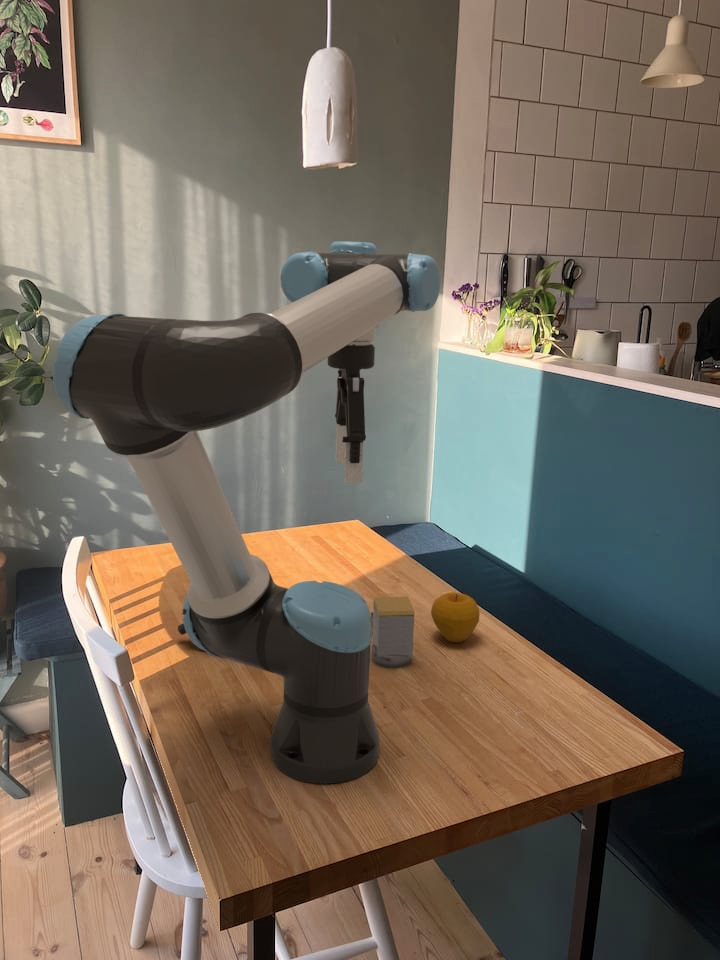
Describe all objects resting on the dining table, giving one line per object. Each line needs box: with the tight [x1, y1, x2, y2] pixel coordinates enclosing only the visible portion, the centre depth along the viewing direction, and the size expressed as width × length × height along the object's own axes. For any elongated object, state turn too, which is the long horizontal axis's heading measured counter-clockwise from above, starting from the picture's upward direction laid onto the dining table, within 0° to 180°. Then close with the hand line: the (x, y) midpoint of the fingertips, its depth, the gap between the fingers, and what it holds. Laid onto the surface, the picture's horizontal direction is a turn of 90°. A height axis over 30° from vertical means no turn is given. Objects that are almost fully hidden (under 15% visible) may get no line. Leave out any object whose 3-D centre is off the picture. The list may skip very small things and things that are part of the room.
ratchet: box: [370, 611, 413, 669], centre depth 145 cm, size 19×7×7 cm, turn 7°
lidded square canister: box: [371, 596, 415, 657], centre depth 138 cm, size 6×6×8 cm
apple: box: [430, 591, 480, 643], centre depth 147 cm, size 9×9×9 cm
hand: (348, 472), depth 134 cm, fingers open, 13 cm apart
